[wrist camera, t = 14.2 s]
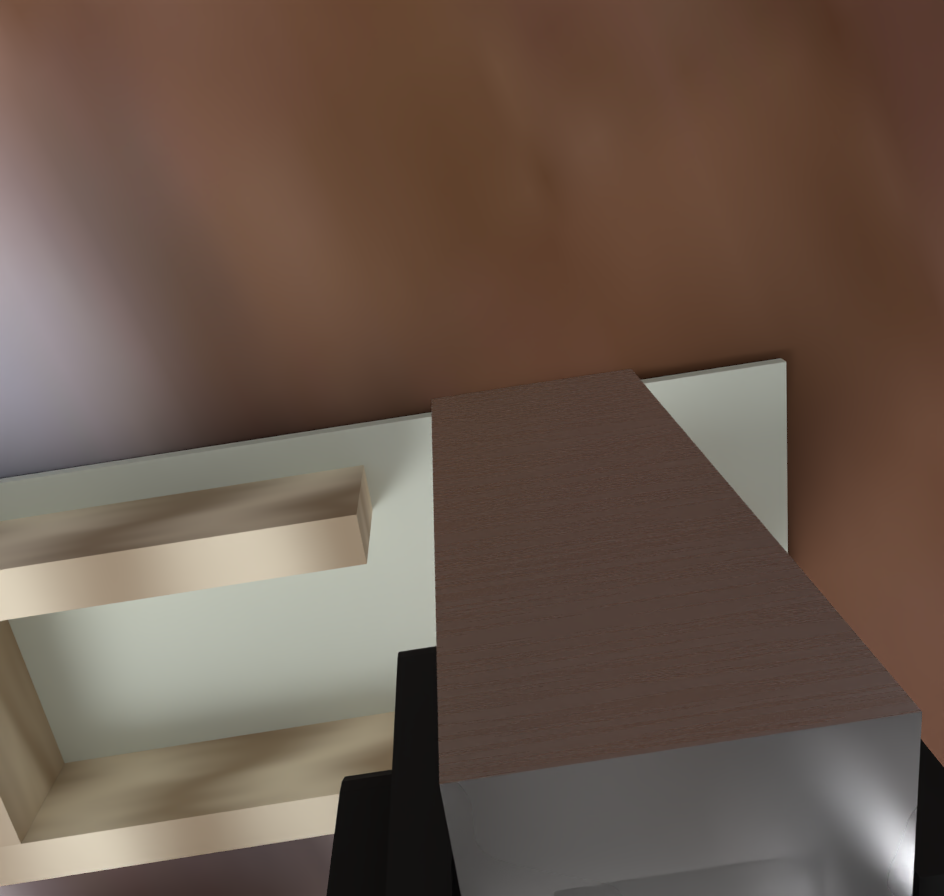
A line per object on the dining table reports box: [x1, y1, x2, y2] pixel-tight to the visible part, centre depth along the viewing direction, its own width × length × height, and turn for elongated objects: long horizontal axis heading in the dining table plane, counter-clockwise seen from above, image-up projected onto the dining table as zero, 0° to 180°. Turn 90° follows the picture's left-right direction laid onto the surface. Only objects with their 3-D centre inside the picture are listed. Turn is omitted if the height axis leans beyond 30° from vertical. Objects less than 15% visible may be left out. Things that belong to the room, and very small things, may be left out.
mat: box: [0, 358, 788, 763], centre depth 28 cm, size 26×13×1 cm, turn 98°
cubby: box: [0, 465, 395, 886], centre depth 26 cm, size 14×11×4 cm
